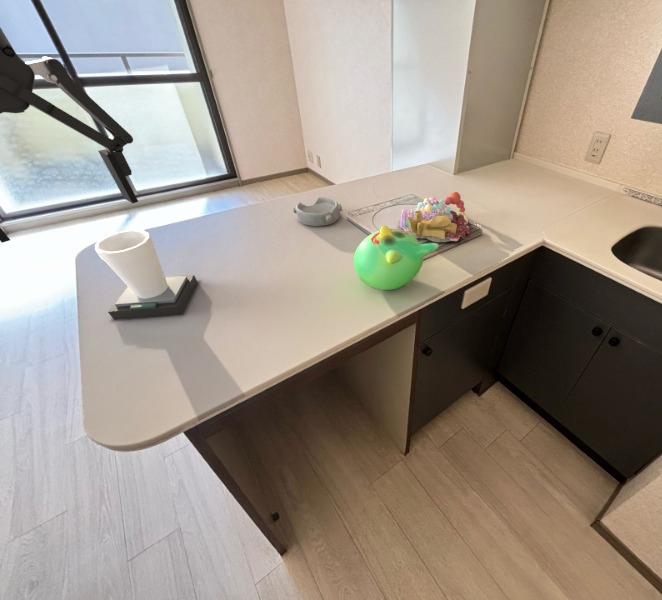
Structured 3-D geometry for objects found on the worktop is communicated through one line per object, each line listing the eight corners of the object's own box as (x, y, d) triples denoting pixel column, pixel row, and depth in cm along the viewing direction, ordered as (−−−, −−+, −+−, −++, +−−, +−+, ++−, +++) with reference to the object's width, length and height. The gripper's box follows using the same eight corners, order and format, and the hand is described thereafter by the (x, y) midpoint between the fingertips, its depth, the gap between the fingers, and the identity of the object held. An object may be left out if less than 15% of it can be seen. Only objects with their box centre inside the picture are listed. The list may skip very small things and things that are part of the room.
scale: (113, 319, 72) (105, 309, 70) (137, 286, 81) (131, 276, 79) (181, 314, 74) (175, 303, 72) (197, 282, 83) (193, 272, 81)
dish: (290, 221, 109) (287, 207, 106) (317, 206, 118) (315, 192, 115) (323, 232, 104) (321, 218, 101) (349, 216, 113) (348, 202, 110)
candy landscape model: (475, 246, 101) (480, 218, 94) (399, 244, 100) (400, 216, 94) (463, 210, 119) (467, 185, 113) (399, 208, 119) (400, 183, 113)
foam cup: (183, 286, 77) (158, 238, 68) (142, 308, 70) (109, 258, 62) (160, 273, 80) (134, 225, 72) (120, 292, 74) (85, 243, 66)
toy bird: (393, 256, 95) (394, 209, 85) (436, 282, 86) (443, 233, 76) (343, 281, 85) (338, 231, 76) (386, 313, 76) (387, 262, 67)
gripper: (76, 0, 38) (159, 182, 52) (-366, -22, 22) (-76, 247, 36) (103, 1, 34) (184, 194, 48) (-392, -24, 19) (-62, 271, 33)
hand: (73, 217), depth 42 cm, fingers open, 13 cm apart
